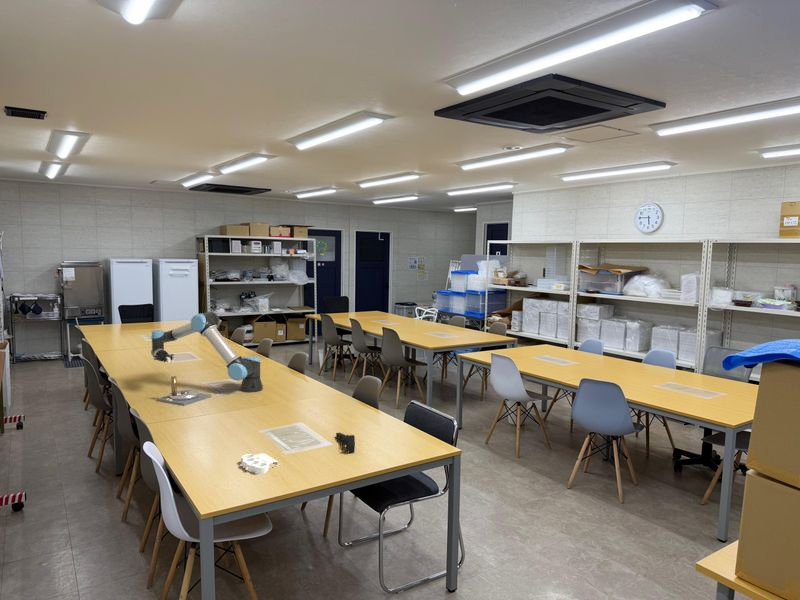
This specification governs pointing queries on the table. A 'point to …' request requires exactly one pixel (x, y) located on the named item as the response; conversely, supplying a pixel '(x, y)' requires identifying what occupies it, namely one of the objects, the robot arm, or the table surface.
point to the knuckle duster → (257, 463)
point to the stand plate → (184, 402)
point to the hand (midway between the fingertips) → (169, 360)
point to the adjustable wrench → (347, 441)
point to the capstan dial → (181, 392)
